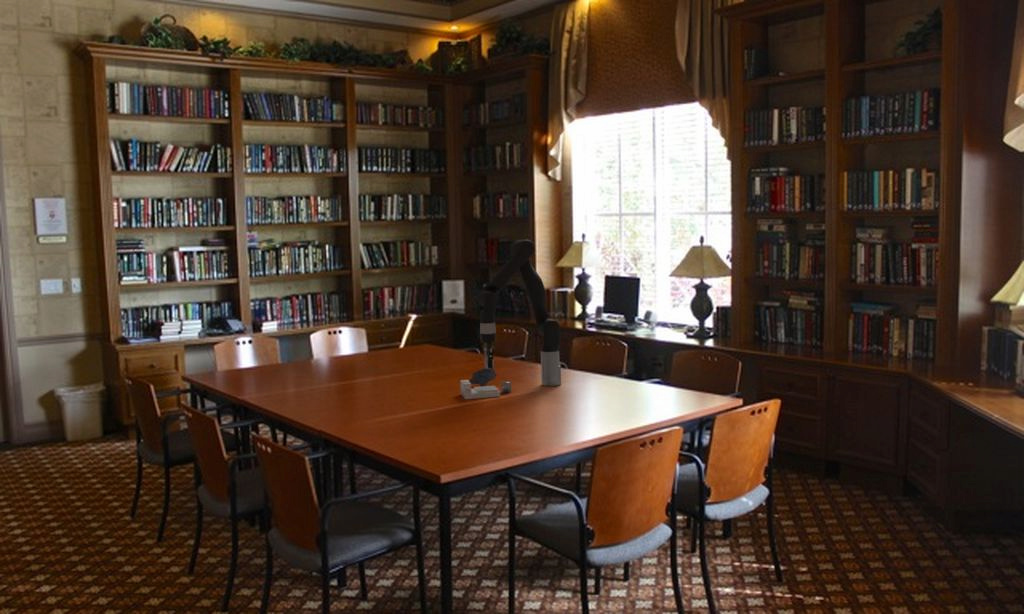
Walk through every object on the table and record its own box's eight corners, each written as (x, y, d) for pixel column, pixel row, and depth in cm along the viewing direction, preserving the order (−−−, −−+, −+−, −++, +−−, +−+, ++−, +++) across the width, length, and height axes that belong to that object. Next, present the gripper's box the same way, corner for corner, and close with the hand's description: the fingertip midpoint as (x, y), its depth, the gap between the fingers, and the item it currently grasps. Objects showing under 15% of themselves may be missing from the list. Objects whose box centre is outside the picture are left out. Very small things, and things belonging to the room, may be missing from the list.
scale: (495, 391, 443) (494, 376, 442) (500, 396, 430) (499, 381, 429) (460, 394, 439) (460, 379, 438) (464, 399, 427) (464, 384, 426)
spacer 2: (510, 391, 442) (509, 381, 442) (512, 392, 438) (511, 382, 437) (501, 391, 441) (501, 381, 441) (503, 393, 437) (502, 383, 437)
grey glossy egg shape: (492, 367, 440) (492, 356, 439) (494, 368, 436) (494, 358, 435) (484, 367, 439) (483, 357, 439) (485, 369, 435) (485, 358, 434)
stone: (473, 388, 453) (472, 368, 452) (468, 386, 458) (467, 367, 457) (497, 385, 459) (497, 365, 458) (492, 383, 464) (492, 364, 463)
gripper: (498, 333, 429) (499, 369, 431) (492, 330, 443) (494, 364, 445) (482, 334, 428) (484, 370, 430) (477, 330, 442) (479, 365, 444)
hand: (489, 367), depth 437 cm, fingers closed on grey glossy egg shape, 4 cm apart
